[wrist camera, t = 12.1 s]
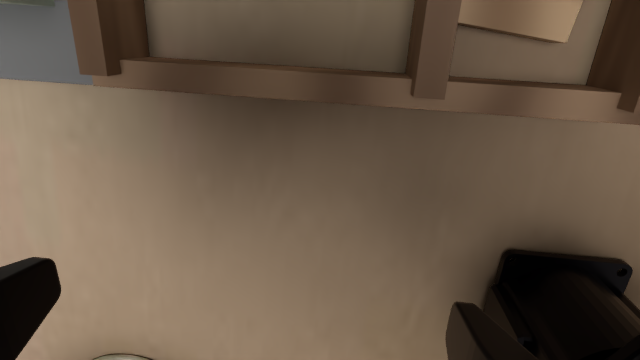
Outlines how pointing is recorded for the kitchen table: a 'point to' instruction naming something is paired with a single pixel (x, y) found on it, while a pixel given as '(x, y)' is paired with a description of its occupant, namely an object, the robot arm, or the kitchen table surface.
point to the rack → (367, 86)
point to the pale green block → (29, 2)
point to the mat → (39, 44)
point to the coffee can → (121, 357)
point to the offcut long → (522, 17)
